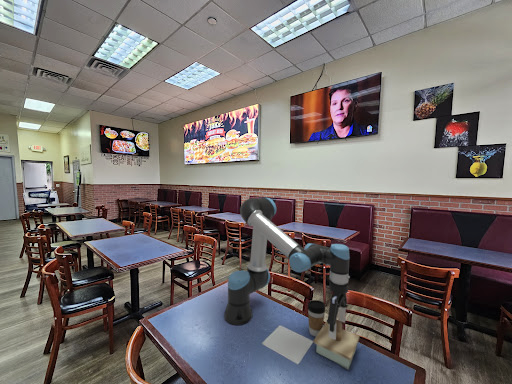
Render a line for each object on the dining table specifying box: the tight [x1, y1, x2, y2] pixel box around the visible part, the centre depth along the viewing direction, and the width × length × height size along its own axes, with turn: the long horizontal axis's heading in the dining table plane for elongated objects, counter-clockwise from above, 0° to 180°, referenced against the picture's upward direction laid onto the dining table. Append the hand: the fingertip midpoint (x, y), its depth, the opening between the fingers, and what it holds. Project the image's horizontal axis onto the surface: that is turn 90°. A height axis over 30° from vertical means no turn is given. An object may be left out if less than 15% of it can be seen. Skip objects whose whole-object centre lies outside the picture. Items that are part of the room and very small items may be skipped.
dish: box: [315, 344, 357, 371], centre depth 94 cm, size 13×13×5 cm
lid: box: [313, 319, 360, 361], centre depth 93 cm, size 15×15×8 cm
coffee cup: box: [306, 299, 326, 337], centre depth 105 cm, size 8×8×15 cm
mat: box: [261, 324, 314, 365], centre depth 98 cm, size 18×16×1 cm
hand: (337, 329), depth 93 cm, fingers open, 13 cm apart
